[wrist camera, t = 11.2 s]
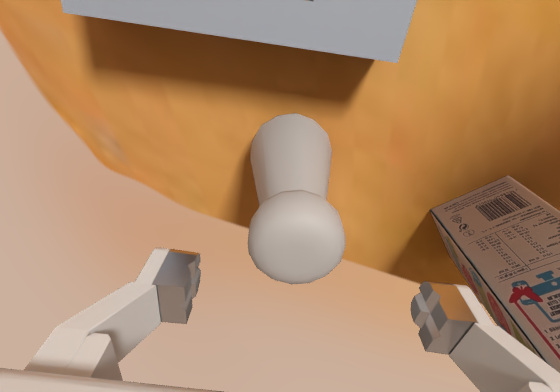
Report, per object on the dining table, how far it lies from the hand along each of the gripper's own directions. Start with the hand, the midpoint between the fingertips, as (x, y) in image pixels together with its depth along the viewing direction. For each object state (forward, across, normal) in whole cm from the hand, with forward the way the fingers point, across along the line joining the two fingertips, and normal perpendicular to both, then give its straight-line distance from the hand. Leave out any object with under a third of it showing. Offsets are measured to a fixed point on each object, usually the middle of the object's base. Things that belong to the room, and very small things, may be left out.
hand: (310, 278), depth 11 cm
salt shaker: (+15, +1, +1) cm, 15 cm away
